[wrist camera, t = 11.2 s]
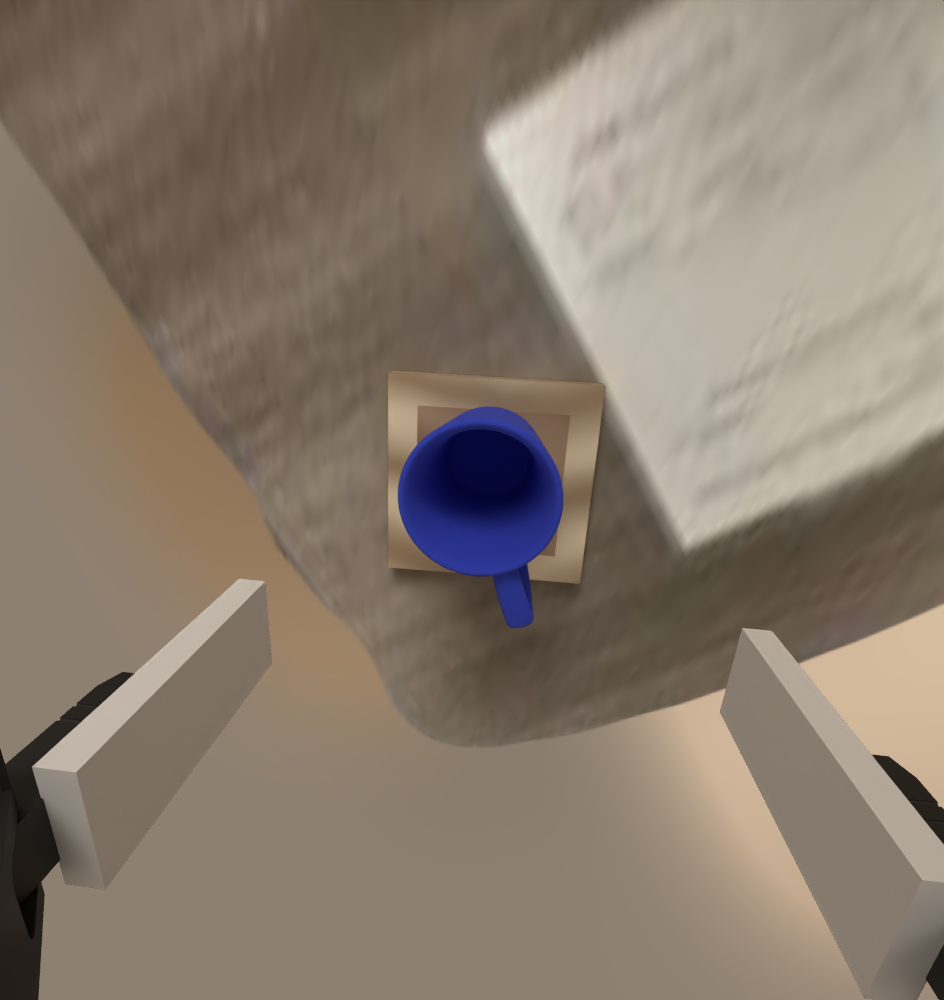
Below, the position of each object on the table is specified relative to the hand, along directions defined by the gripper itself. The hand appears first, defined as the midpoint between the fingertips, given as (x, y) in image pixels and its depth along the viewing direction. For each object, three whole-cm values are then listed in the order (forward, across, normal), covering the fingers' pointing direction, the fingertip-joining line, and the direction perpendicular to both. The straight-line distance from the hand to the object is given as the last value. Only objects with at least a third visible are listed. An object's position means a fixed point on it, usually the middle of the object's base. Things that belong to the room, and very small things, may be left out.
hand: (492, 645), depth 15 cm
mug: (+22, -1, -2) cm, 22 cm away
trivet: (+23, -1, -2) cm, 23 cm away
